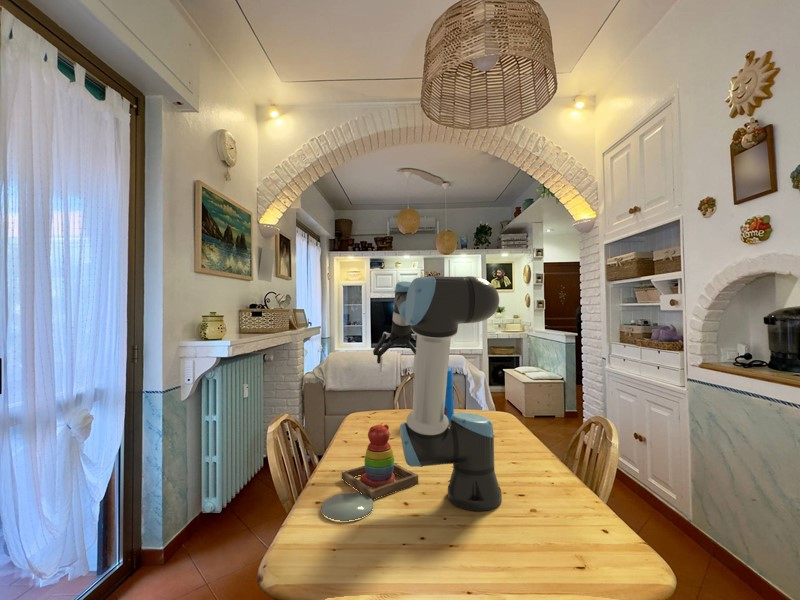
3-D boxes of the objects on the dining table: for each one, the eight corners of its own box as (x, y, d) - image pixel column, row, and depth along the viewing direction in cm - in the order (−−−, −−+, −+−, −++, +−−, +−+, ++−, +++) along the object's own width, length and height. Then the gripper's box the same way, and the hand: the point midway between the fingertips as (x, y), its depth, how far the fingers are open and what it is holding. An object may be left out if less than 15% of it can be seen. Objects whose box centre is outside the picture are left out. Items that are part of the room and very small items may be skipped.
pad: (383, 510, 103) (383, 506, 103) (337, 529, 95) (336, 524, 95) (356, 491, 114) (356, 488, 114) (312, 506, 106) (312, 503, 106)
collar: (418, 483, 119) (418, 475, 119) (371, 501, 108) (371, 492, 109) (386, 466, 133) (385, 458, 133) (341, 480, 122) (341, 472, 122)
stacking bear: (390, 472, 127) (389, 418, 128) (401, 485, 118) (400, 427, 118) (358, 478, 123) (357, 422, 124) (367, 492, 114) (366, 431, 115)
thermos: (455, 425, 179) (453, 371, 179) (432, 425, 179) (431, 371, 180) (452, 418, 189) (451, 368, 190) (430, 419, 190) (429, 368, 190)
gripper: (432, 319, 150) (426, 366, 158) (369, 316, 147) (365, 364, 154) (436, 327, 143) (429, 376, 151) (369, 324, 140) (366, 374, 147)
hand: (397, 370), depth 152 cm, fingers open, 13 cm apart
